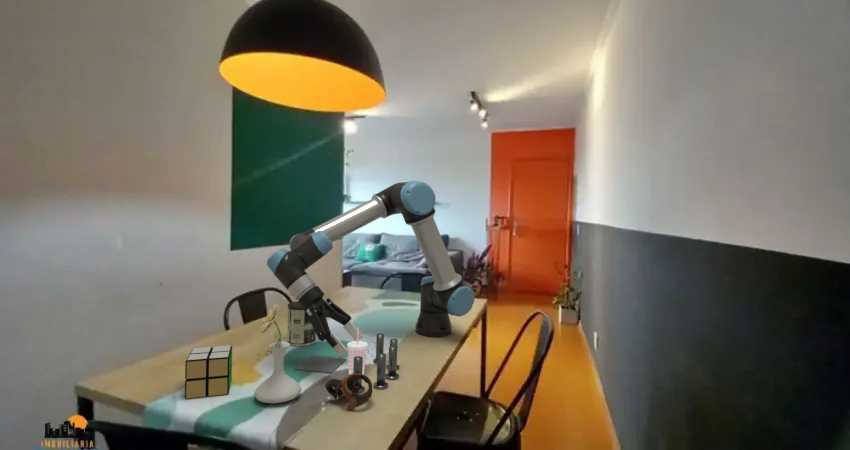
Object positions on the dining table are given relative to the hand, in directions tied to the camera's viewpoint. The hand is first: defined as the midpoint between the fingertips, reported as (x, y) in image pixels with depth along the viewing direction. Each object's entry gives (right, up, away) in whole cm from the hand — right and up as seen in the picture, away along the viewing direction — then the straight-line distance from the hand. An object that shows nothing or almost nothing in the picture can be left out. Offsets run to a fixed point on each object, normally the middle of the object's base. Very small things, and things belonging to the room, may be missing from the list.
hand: (352, 346), depth 124 cm
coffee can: (-24, -7, +28) cm, 37 cm away
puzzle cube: (-36, -8, -13) cm, 39 cm away
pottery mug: (+2, -9, -18) cm, 20 cm away
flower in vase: (-16, -8, -18) cm, 25 cm away
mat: (-11, -8, +7) cm, 15 cm away
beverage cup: (+1, -9, +1) cm, 9 cm away
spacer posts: (+8, -9, -1) cm, 12 cm away
